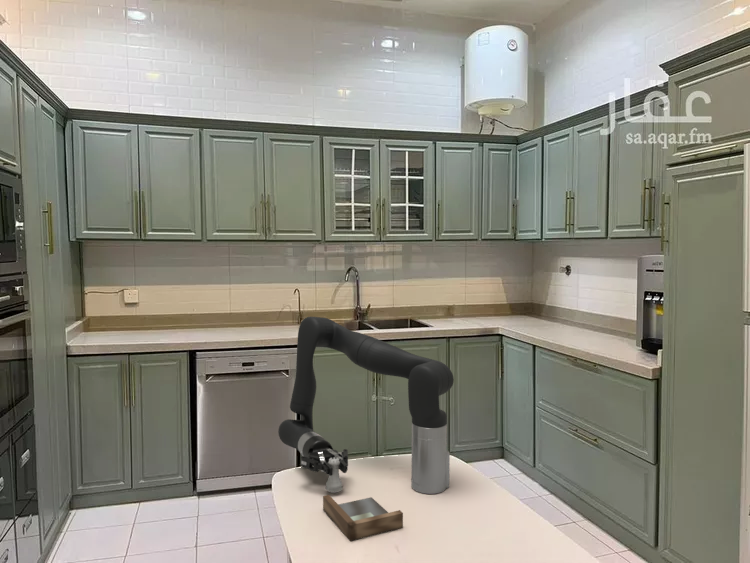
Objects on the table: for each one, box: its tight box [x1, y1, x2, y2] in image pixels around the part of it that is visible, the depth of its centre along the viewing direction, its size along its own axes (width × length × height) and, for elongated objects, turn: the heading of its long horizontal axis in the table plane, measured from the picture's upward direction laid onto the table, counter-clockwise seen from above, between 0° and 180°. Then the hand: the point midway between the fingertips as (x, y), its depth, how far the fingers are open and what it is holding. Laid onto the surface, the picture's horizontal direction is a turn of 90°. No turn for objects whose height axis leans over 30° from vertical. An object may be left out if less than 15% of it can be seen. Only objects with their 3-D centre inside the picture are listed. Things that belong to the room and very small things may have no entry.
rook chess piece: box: [325, 457, 343, 494], centre depth 141 cm, size 4×4×8 cm
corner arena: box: [322, 494, 404, 542], centre depth 127 cm, size 13×16×4 cm
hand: (338, 470), depth 138 cm, fingers closed on rook chess piece, 3 cm apart
